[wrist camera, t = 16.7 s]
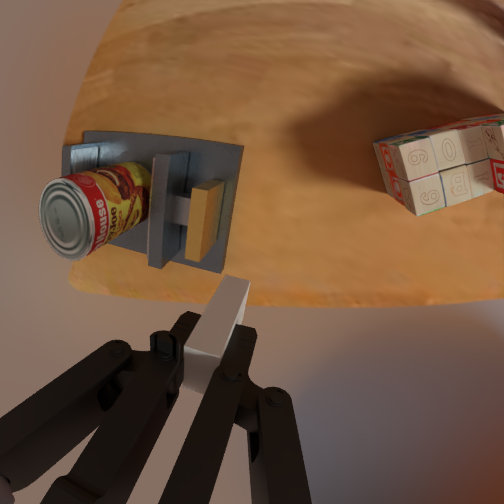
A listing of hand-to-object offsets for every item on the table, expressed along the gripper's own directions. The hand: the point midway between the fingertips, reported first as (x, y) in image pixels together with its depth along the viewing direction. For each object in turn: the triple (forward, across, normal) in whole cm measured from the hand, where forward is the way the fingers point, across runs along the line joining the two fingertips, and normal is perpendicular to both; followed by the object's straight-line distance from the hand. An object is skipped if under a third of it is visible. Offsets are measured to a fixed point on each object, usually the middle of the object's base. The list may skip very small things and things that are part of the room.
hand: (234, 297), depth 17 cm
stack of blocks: (+17, +20, +14) cm, 30 cm away
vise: (+17, -15, 0) cm, 23 cm away
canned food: (+16, -17, 0) cm, 23 cm away
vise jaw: (+15, -9, 0) cm, 17 cm away
